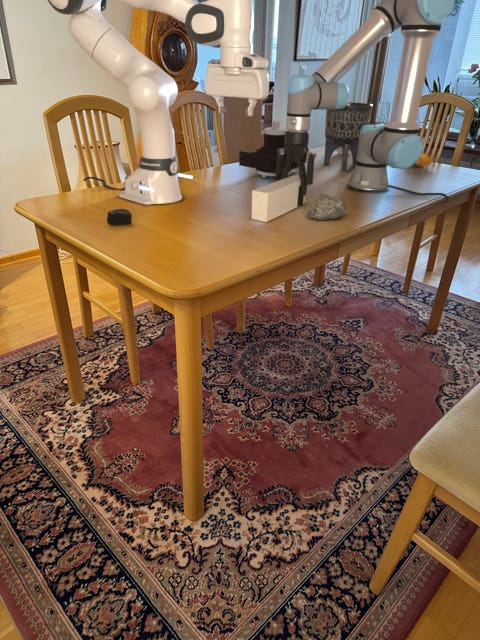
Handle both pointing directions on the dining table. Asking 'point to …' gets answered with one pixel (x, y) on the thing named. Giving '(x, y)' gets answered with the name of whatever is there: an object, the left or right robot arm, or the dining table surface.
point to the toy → (423, 160)
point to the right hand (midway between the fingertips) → (291, 203)
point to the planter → (345, 130)
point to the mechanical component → (267, 153)
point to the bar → (275, 199)
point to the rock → (327, 208)
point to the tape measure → (119, 217)
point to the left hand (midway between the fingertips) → (235, 114)
